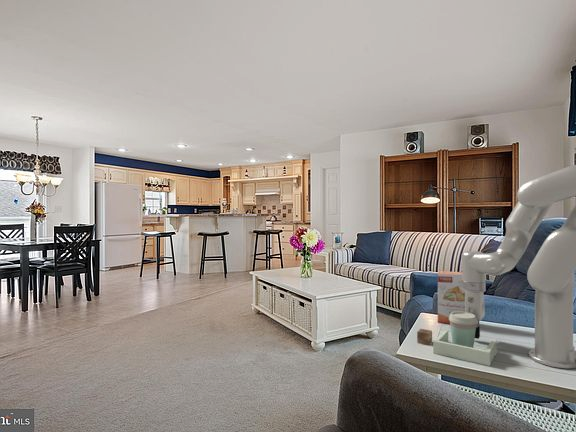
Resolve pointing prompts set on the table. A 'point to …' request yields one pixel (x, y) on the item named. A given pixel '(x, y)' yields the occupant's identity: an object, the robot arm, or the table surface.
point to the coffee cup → (463, 328)
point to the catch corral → (464, 350)
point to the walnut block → (424, 336)
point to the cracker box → (450, 295)
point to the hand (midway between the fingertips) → (474, 337)
